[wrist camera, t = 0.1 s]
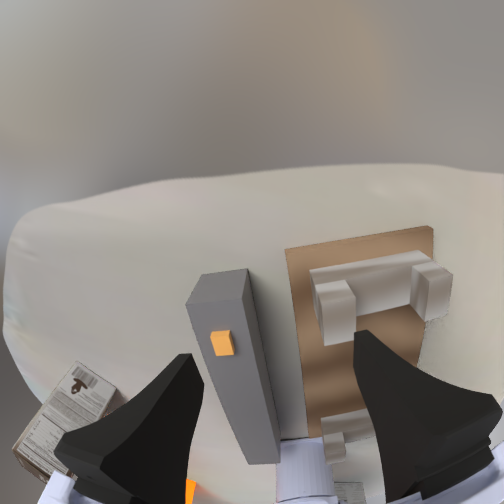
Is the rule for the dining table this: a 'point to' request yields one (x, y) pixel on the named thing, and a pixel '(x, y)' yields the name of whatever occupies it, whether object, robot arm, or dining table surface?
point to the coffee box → (62, 420)
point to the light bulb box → (350, 492)
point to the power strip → (236, 361)
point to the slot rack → (359, 319)
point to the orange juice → (189, 491)
